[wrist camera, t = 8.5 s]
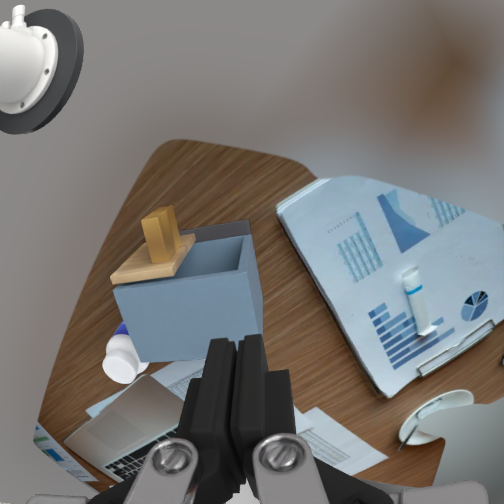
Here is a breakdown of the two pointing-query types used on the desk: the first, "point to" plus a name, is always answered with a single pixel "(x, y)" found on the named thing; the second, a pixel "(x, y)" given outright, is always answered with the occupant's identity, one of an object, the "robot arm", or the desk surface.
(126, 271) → the tan piece
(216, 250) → the grey-blue hollow box
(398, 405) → the desk surface
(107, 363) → the pill bottle
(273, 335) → the desk surface
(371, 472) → the desk surface
